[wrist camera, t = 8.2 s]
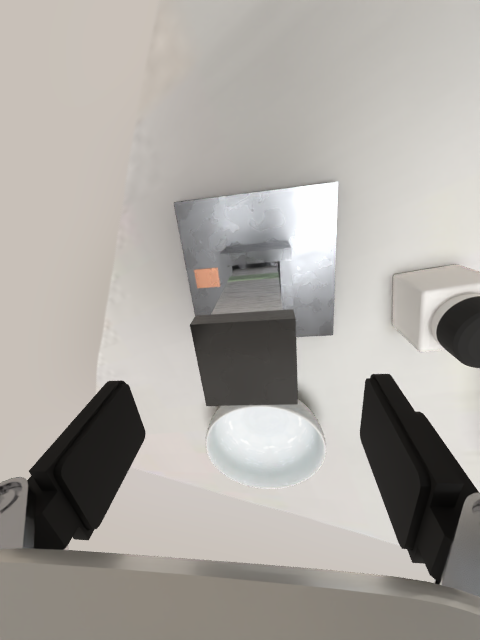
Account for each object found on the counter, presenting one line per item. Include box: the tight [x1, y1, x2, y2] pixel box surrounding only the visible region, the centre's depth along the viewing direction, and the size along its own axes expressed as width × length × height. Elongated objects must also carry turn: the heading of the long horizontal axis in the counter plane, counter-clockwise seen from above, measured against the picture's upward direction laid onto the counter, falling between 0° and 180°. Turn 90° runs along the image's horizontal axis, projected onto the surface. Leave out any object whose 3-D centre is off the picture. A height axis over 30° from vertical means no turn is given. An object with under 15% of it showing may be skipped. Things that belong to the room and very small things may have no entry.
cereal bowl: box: [206, 400, 326, 489], centre depth 40 cm, size 17×17×7 cm
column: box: [190, 266, 298, 406], centre depth 20 cm, size 5×5×14 cm
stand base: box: [174, 182, 338, 337], centre depth 30 cm, size 18×18×7 cm
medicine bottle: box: [392, 264, 480, 368], centre depth 27 cm, size 7×7×12 cm
